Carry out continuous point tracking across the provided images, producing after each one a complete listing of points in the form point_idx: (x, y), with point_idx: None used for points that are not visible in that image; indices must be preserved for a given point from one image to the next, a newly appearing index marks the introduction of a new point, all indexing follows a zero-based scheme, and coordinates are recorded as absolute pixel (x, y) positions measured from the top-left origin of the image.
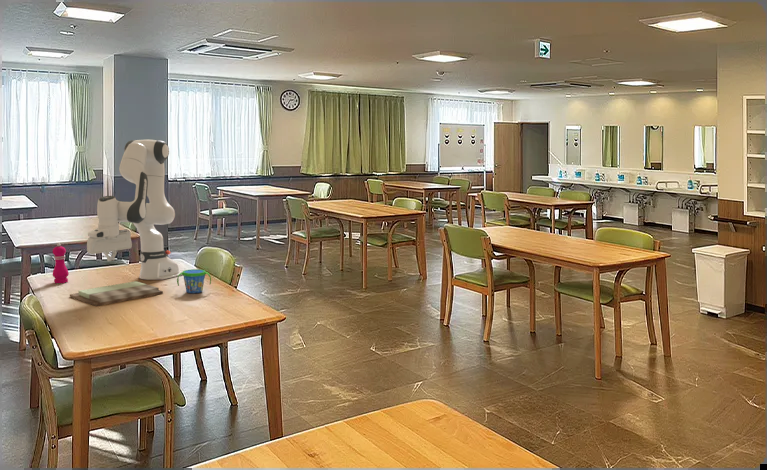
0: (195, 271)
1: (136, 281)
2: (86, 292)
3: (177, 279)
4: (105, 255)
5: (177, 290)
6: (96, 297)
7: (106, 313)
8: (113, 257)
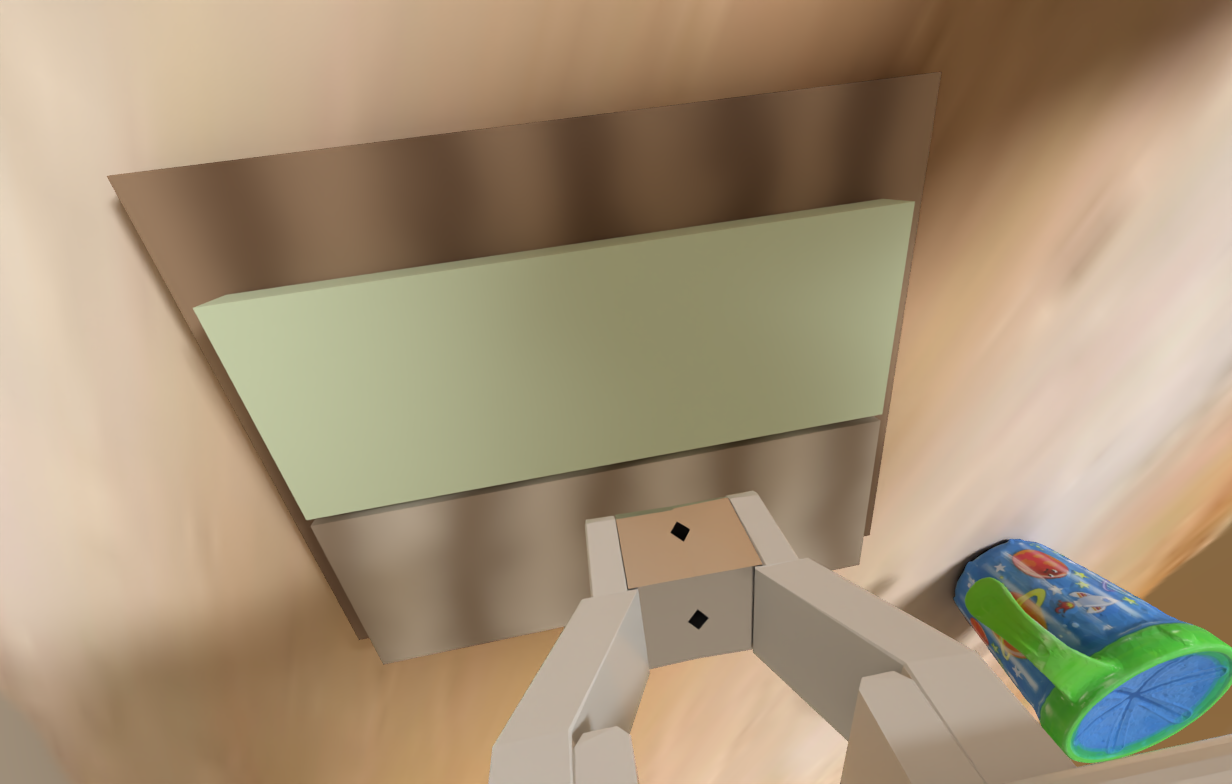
0: (1179, 674)
1: (907, 224)
2: (287, 444)
3: (1004, 637)
4: (543, 678)
5: (978, 487)
6: (363, 618)
7: (397, 763)
8: (749, 631)
